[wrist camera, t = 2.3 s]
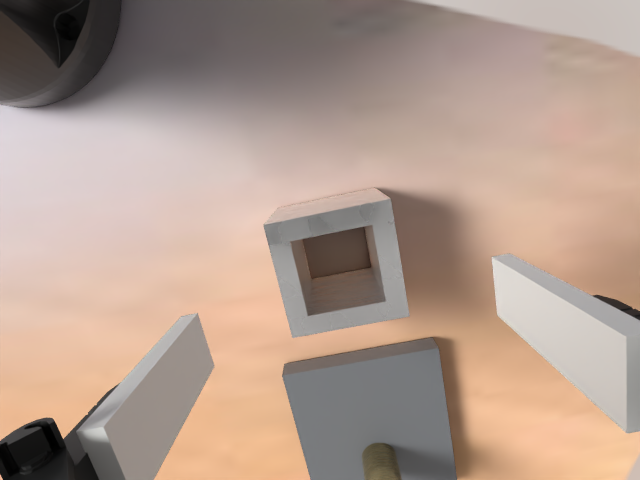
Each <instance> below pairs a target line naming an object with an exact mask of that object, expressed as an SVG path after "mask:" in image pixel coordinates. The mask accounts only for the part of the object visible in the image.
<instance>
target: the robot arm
mask: <svg viewBox="0 0 640 480" xmlns="http://www.w3.org/2000/svg"><path fill="white" fill-rule="evenodd" d="M120 10H121V0H0V105H6V106H14V107H35V106H42V105H47V104H51V103H54V102H57V101H60V100H62V99H64V98H66V97H68V96H70V95H72V94H73V93H75V92H77V91H78V90H79V89H81V88H82V87H83V86H84V85H86V84H87V83H88V82H89V81H90V80H91V79H92V78H93V77H94V76H95V74H96V73H97V72H98V71H99V69H100V68H101V66H102V65H103V63H104V62H105V60H106V58H107V56H108V54H109V52H110V50H111V48H112V45H113V42H114V39H115V36H116V33H117V29H118V24H119V19H120ZM492 266H493V276H494V286H495V297H496V307H497V315H498V316H499V317H500V318H501V319H502V320H503V321H504V322H505V323H506V324H507V325H509V326H510V327H511V328H512V329H513V330H514V331H515V332H516V333H517V334H518V335H519V336H521V337H522V338H523V339H524V340H525V341H526V342H527V343H528V344H529V345H530V346H532V347H533V348H534V349H535V350H536V351H537V352H538V353H539V354H540V355H541V356H542V357H544V358H545V359H546V360H547V361H548V362H549V363H550V364H551V365H552V366H553V367H554V368H556V369H557V370H558V371H559V372H560V373H561V374H562V375H563V376H564V377H565V378H567V379H568V380H569V381H570V382H571V383H572V384H573V385H574V386H575V387H576V388H577V389H579V390H580V391H581V392H582V393H583V394H584V395H585V396H586V397H587V398H588V399H589V400H591V401H592V402H593V403H594V404H595V405H596V406H597V407H598V408H599V409H600V410H602V411H603V412H604V413H605V414H606V415H607V416H608V417H609V418H610V419H611V420H612V421H614V422H615V423H616V424H617V425H618V426H619V427H620V428H621V429H622V430H623V431H625V432H626V433H632V432H639V431H640V311H638V310H636V309H632V307H630V306H628V305H626V304H624V303H622V302H620V301H618V300H615V299H611V298H607V297H603V296H600V295H594V296H591V295H589V294H588V293H586V292H584V291H582V290H580V289H578V288H576V287H574V286H572V285H570V284H568V283H566V282H564V281H562V280H560V279H558V278H557V277H555V276H553V275H551V274H549V273H547V272H545V271H543V270H541V269H539V268H537V267H535V266H533V265H531V264H529V263H527V262H525V261H524V260H522V259H520V258H518V257H516V256H514V255H512V254H504V255H499V256H494V257H492ZM213 368H214V363H213V360H212V357H211V354H210V350H209V347H208V344H207V341H206V338H205V335H204V332H203V328H202V325H201V322H200V319H199V316H198V313H196V314H191V315H185V316H181V317H180V318H179V320H178V321H177V322H176V323H175V324H174V325H173V326H172V327H171V328H170V329H169V330H168V332H167V333H166V334H165V335H164V336H163V337H162V338H161V339H160V340H159V341H158V342H157V344H156V345H155V346H154V347H153V348H152V349H151V350H150V351H149V352H148V353H147V354H146V356H145V357H144V358H143V359H142V360H141V361H140V362H139V363H138V364H137V365H136V367H135V368H134V369H133V370H132V371H131V372H130V373H129V374H128V375H127V376H126V377H125V379H124V380H123V381H122V382H121V383H119V384H118V385H117V386H115V387H114V388H112V389H111V390H110V391H108V392H107V393H106V394H105V395H104V396H103V397H102V398H101V400H100V401H99V402H98V403H97V405H95V406H94V407H93V408H92V409H91V410H90V411H89V412H88V415H86V416H85V417H84V418H83V419H82V420H81V421H80V422H79V423H78V424H77V425H76V426H75V427H74V428H73V430H72V431H71V432H70V433H69V434H68V435H67V436H66V437H65V438H64V439H63V438H62V436H61V434H60V432H59V429H58V427H57V425H56V423H55V421H54V420H53V418H43V419H39V420H35V421H33V422H31V423H28V424H26V425H24V426H22V427H20V428H19V429H17V430H15V431H13V432H12V433H10V434H9V435H8V436H6V437H5V438H3V439H2V440H1V441H0V475H1V477H2V478H3V480H154V478H155V476H156V474H157V473H158V471H159V469H160V467H161V465H162V463H163V461H164V460H165V458H166V456H167V454H168V452H169V450H170V448H171V446H172V445H173V443H174V441H175V439H176V437H177V435H178V433H179V432H180V430H181V428H182V426H183V424H184V422H185V420H186V418H187V417H188V415H189V413H190V411H191V409H192V407H193V405H194V404H195V402H196V400H197V398H198V396H199V394H200V392H201V390H202V389H203V387H204V385H205V383H206V381H207V379H208V377H209V376H210V374H211V372H212V370H213Z"/></svg>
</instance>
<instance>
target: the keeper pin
mask: <svg viewBox="0 0 640 480" xmlns="http://www.w3.org/2000/svg"><path fill="white" fill-rule="evenodd" d="M362 463H363V471H364V479H365V480H402V478H401V473H400V469H399V465H398V461H397V457H396V453H395V450H394V449H393V448H392V447H391V446H390V445H388V444H386V443H373V444H371V445H369V446H367V447H366V448H365V449H364V451H363V453H362Z"/></svg>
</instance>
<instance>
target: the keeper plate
mask: <svg viewBox="0 0 640 480" xmlns="http://www.w3.org/2000/svg"><path fill="white" fill-rule="evenodd" d="M282 377H283V380H284V384H285V388H286V391H287V395H288V399H289V402H290V406H291V409H292V413H293V417H294V420H295V424H296V428H297V431H298V435H299V439H300V442H301V446H302V450H303V453H304V457H305V461H306V464H307V468H308V472H309V475H310V479H311V480H365V479H364V471H363V463H362V453H363V451H364V449H365V448H366V447H367V446H369V445H371V444H373V443H386V444H388V445H390V446H391V447H392V448H393V449H394V450H395V453H396V457H397V461H398V465H399V469H400V473H401V478H402V480H457V476H456V468H455V461H454V454H453V447H452V440H451V433H450V425H449V418H448V411H447V404H446V397H445V390H444V382H443V375H442V368H441V361H440V354H439V348H438V346H437V344H436V343H435V341H434V339H433V337H432V338H426V339H420V340H415V341H409V342H404V343H398V344H393V345H387V346H381V347H376V348H370V349H365V350H359V351H354V352H348V353H342V354H337V355H331V356H326V357H320V358H315V359H309V360H303V361H298V362H292V363H287V364H284V369H283V374H282Z"/></svg>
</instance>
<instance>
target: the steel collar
mask: <svg viewBox="0 0 640 480" xmlns="http://www.w3.org/2000/svg"><path fill="white" fill-rule="evenodd" d="M359 227H364V228H365V234H366V239H367V245H368V250H369V256H370V261H371V268H366V269H361V270H356V271H351V272H345V273H340V274H335V275H330V276H325V277H320V278H315V279H311V275H310V270H309V266H308V262H307V257H306V253H305V249H304V244H303V240H302V239H305V238H310V237H315V236H320V235H325V234H329V233H334V232H339V231H344V230H349V229H354V228H359ZM264 229H265V233H266V237H267V241H268V245H269V249H270V253H271V256H272V260H273V264H274V268H275V272H276V276H277V280H278V284H279V287H280V291H281V295H282V299H283V303H284V307H285V311H286V315H287V319H288V322H289V326H290V330H291V334H292V338H295V337H300V336H306V335H311V334H317V333H322V332H327V331H333V330H338V329H344V328H349V327H355V326H360V325H365V324H371V323H376V322H382V321H387V320H393V319H398V318H403V317H409V316H410V315H409V309H408V303H407V297H406V290H405V284H404V278H403V271H402V265H401V259H400V253H399V246H398V240H397V234H396V228H395V221H394V215H393V209H392V202H391V198H389V197H388V196H386V195H385V194H383V193H382V192H380V191H379V190H377V189H376V188H370V189H365V190H361V191H356V192H351V193H346V194H341V195H337V196H332V197H327V198H322V199H318V200H313V201H308V202H303V203H298V204H294V205H289V206H284V207H279V208H277V209H276V211H275V212H274V213H273V214H272V215H271V217H270V218H269V219H268V220H267V221H266V223H265V224H264Z"/></svg>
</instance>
